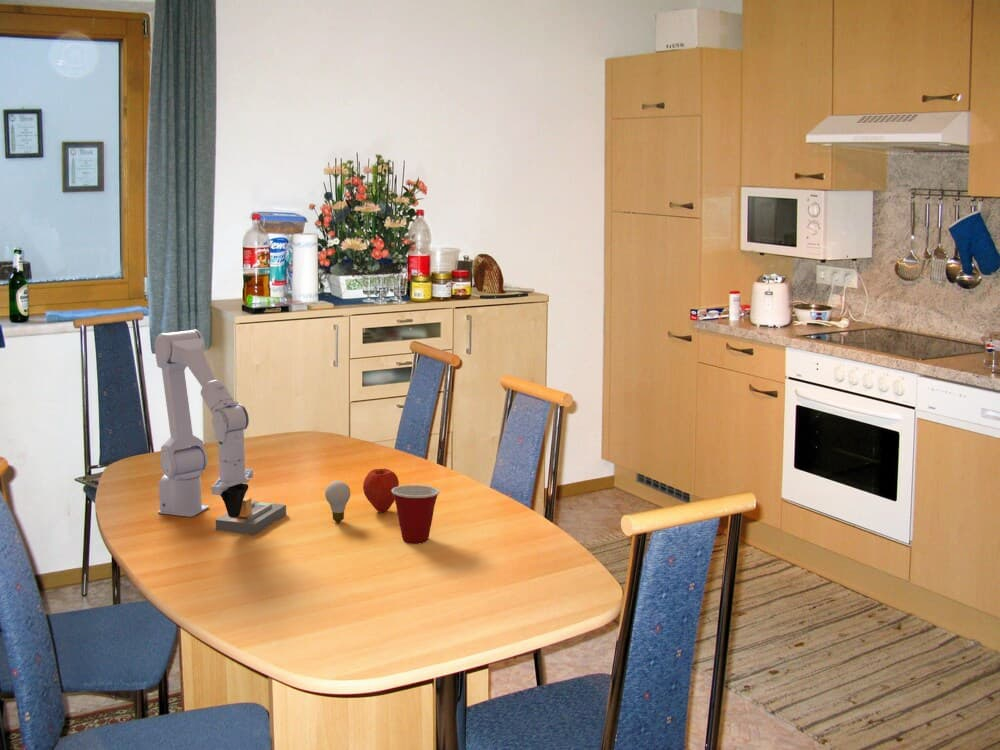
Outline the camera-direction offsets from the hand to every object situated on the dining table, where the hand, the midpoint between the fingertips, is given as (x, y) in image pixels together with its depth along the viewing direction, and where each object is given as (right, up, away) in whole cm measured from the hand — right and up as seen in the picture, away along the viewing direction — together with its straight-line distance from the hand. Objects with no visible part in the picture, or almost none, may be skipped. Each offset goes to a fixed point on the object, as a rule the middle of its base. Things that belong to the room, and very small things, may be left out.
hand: (234, 516), depth 254 cm
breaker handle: (+1, 0, +4) cm, 4 cm away
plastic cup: (+42, -5, -3) cm, 42 cm away
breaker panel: (+2, -2, +8) cm, 9 cm away
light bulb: (+23, -3, +9) cm, 24 cm away
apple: (+32, -1, +17) cm, 36 cm away
